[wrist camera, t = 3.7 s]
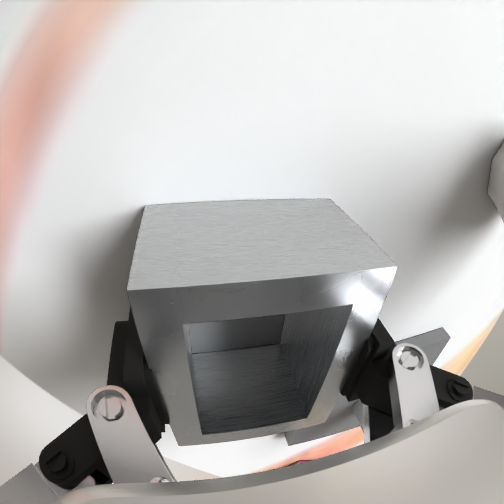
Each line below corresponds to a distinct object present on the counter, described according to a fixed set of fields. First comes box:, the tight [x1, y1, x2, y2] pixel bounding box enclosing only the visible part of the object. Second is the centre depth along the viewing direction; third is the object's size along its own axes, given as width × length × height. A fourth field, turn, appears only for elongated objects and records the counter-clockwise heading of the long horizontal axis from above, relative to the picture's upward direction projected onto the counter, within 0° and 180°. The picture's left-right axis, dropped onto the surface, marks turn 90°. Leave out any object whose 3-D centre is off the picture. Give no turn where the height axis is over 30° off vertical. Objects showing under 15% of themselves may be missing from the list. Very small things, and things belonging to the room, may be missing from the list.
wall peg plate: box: [285, 328, 451, 446], centre depth 16 cm, size 10×10×7 cm
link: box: [127, 199, 398, 446], centre depth 10 cm, size 8×6×4 cm
